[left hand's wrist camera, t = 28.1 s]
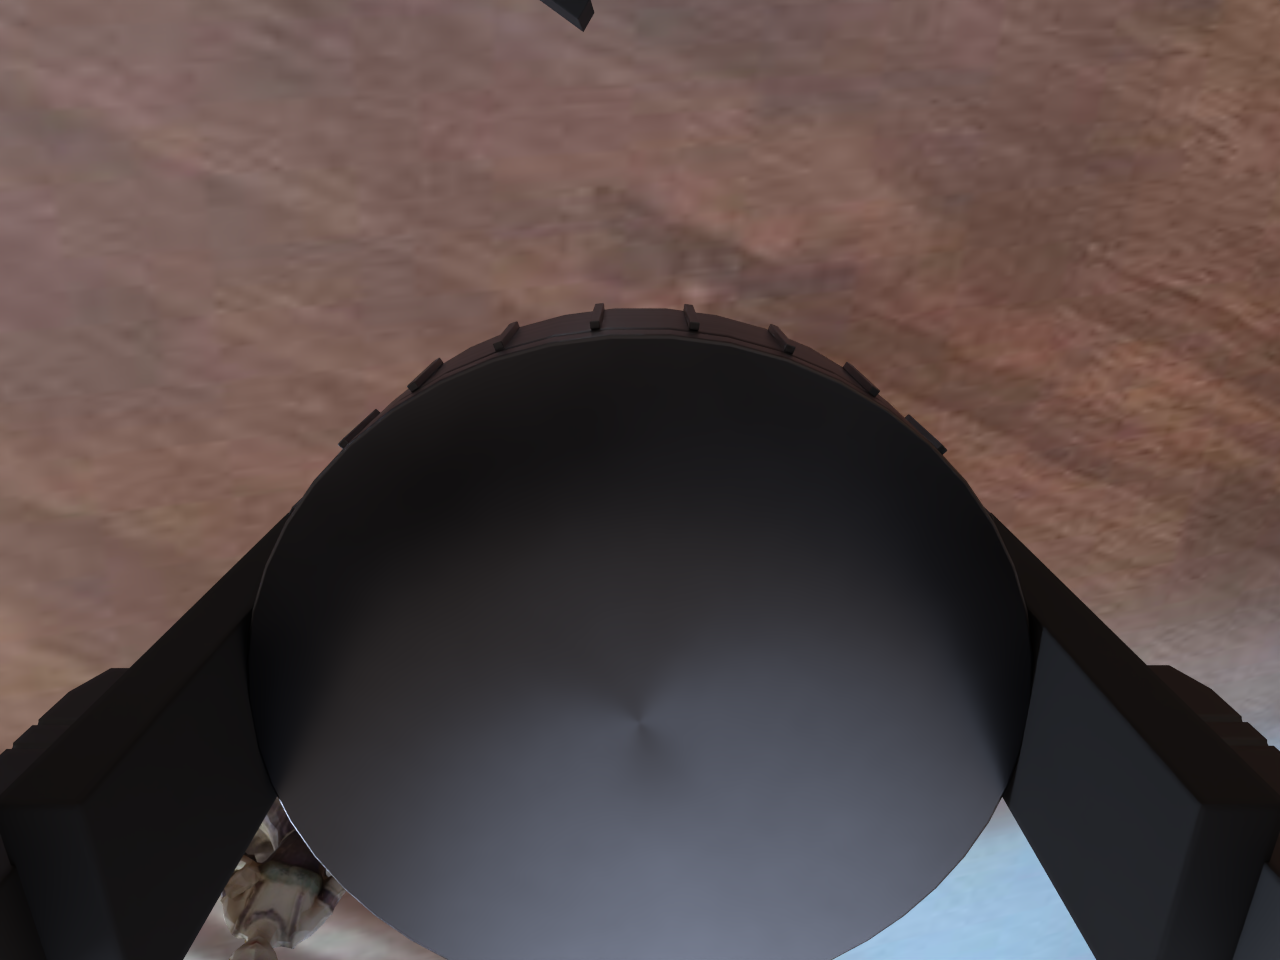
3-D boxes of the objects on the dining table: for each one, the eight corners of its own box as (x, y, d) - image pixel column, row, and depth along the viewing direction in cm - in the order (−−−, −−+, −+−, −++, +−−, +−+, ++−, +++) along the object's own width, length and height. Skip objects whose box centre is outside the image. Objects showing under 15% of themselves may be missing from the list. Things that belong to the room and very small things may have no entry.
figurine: (419, 673, 46) (320, 898, 31) (450, 832, 49) (374, 1096, 35) (204, 688, 46) (11, 917, 32) (252, 844, 50) (98, 1111, 36)
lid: (451, 159, 10) (412, 157, 8) (1122, 501, 11) (1210, 560, 10) (213, 769, 13) (148, 862, 11) (768, 975, 14) (786, 1085, 13)
